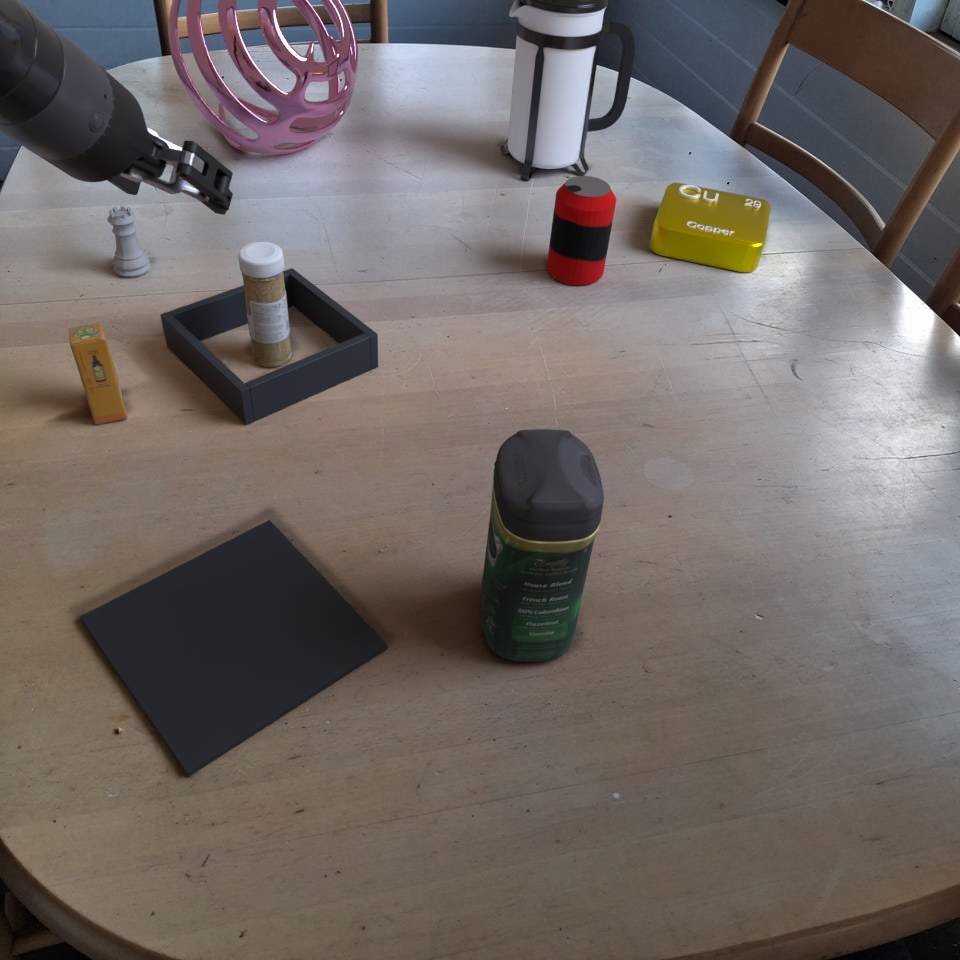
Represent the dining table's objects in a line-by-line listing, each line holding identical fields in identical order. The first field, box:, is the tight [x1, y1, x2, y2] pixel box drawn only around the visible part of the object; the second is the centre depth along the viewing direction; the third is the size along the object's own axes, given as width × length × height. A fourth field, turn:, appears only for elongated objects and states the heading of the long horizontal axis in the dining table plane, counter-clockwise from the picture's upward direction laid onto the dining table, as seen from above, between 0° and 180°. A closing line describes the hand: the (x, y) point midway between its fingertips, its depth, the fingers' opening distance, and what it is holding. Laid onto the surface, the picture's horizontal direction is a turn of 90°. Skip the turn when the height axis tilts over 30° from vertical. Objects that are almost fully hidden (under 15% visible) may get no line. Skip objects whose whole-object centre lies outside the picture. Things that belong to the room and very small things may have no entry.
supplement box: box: [68, 322, 128, 426], centre depth 90 cm, size 3×3×10 cm
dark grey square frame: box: [160, 267, 379, 426], centre depth 101 cm, size 17×17×4 cm
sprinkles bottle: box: [237, 241, 293, 368], centre depth 98 cm, size 5×5×13 cm
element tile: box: [649, 182, 772, 273], centre depth 127 cm, size 15×15×5 cm
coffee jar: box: [479, 428, 605, 663], centre depth 71 cm, size 10×8×19 cm
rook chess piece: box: [107, 205, 152, 279], centre depth 111 cm, size 4×4×8 cm
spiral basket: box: [167, 0, 359, 155], centre depth 135 cm, size 28×28×27 cm
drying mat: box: [79, 519, 389, 778], centre depth 74 cm, size 18×18×1 cm
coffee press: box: [499, 0, 636, 182], centre depth 134 cm, size 17×16×30 cm
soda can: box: [546, 175, 617, 287], centre depth 116 cm, size 8×8×12 cm
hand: (180, 193), depth 77 cm, fingers open, 8 cm apart
